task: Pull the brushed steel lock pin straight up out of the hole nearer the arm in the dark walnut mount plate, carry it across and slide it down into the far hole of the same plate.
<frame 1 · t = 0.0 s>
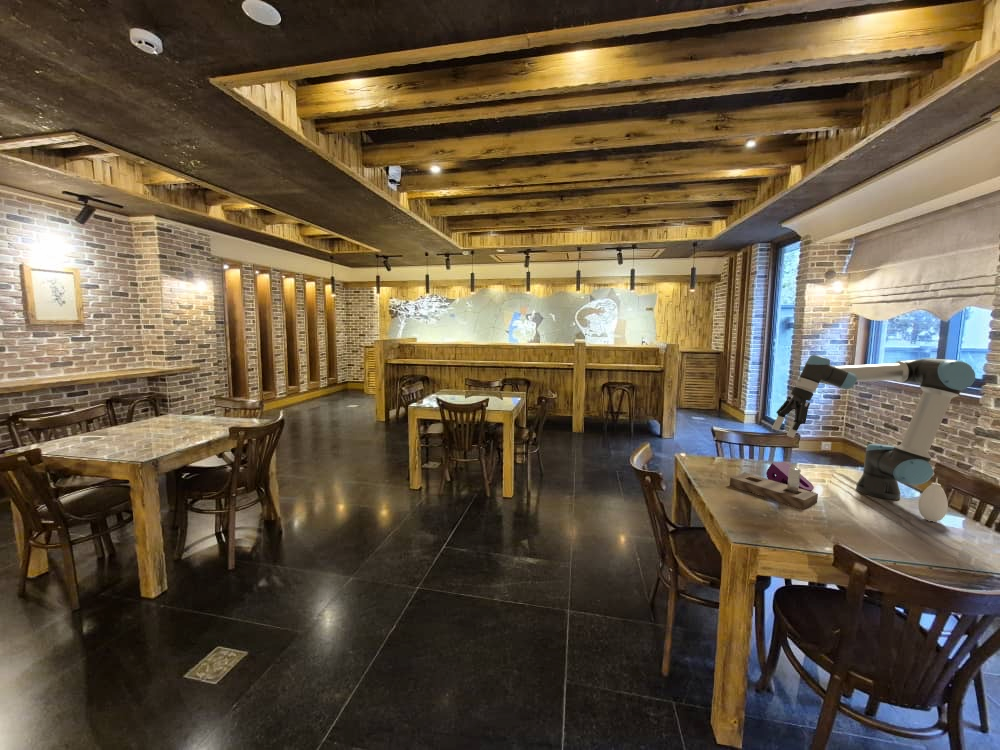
hand: (782, 433, 184), 28 cm above the table, tool tilted 20°, fingers open, 13 cm apart
mounting bracket: (790, 486, 197), on the table
mount plate: (771, 493, 186), on the table
white rounded egg-shaped figurine: (930, 521, 163), on the table
steel pin: (791, 500, 180), resting in mount plate
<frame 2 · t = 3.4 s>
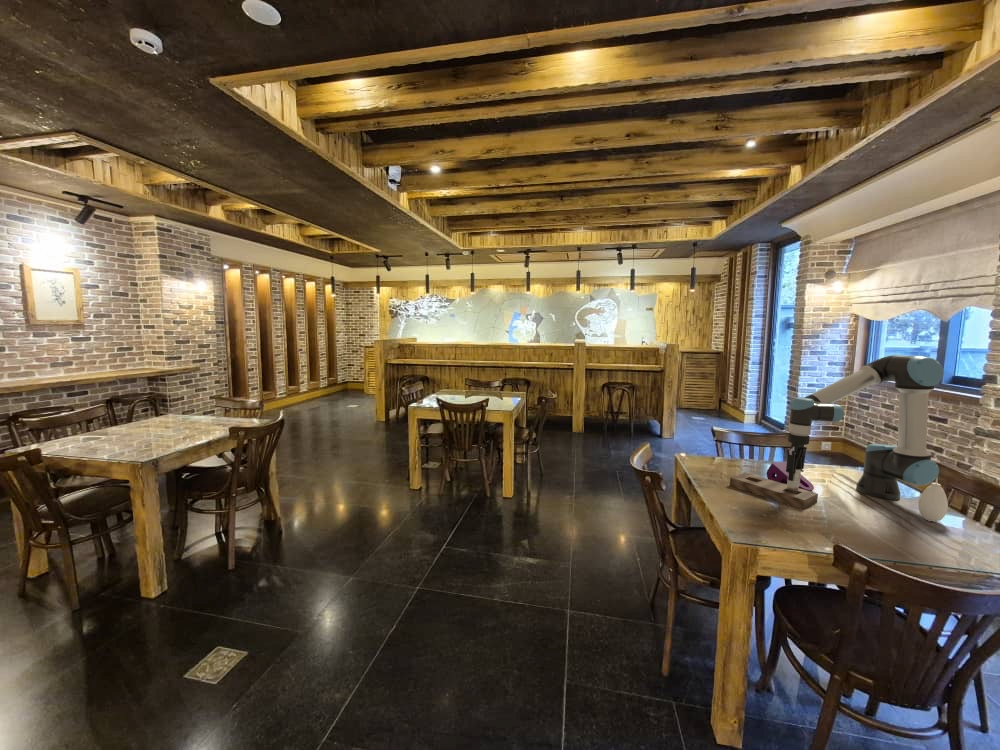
hand: (792, 486, 179), 6 cm above the table, tool pointing down, fingers closed on steel pin, 4 cm apart
steel pin: (791, 500, 180), resting in mount plate, touching gripper
everything else where it was.
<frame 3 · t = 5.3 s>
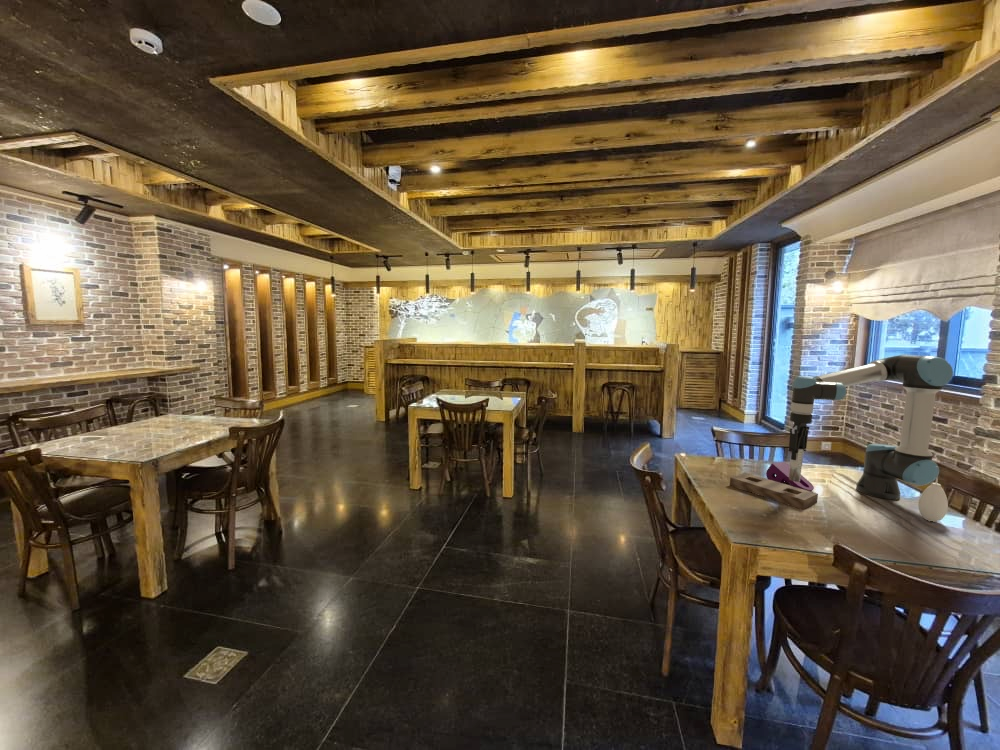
hand: (795, 466, 178), 15 cm above the table, tool pointing down, fingers closed on steel pin, 4 cm apart
steel pin: (794, 480, 179), point 9 cm above the table, touching gripper
everything else where it was.
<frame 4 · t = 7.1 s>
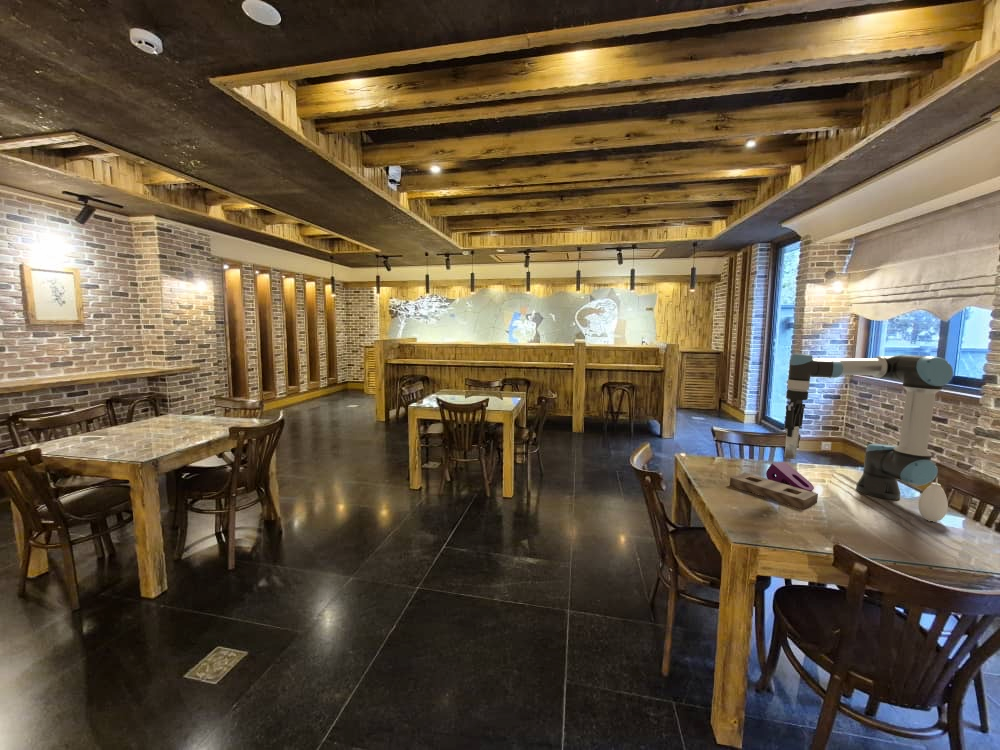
hand: (791, 443, 179), 25 cm above the table, tool pointing down, fingers closed on steel pin, 4 cm apart
steel pin: (789, 457, 179), point 18 cm above the table, touching gripper
everything else where it was.
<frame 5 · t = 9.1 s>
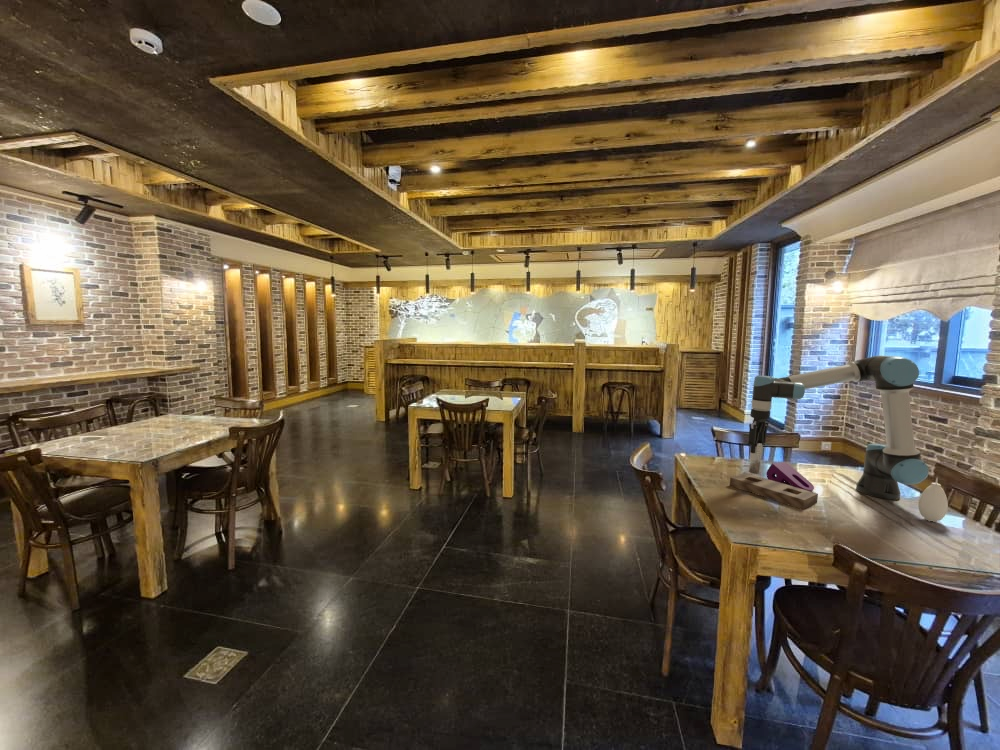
hand: (755, 458, 191), 14 cm above the table, tool pointing down, fingers closed on steel pin, 4 cm apart
steel pin: (753, 472, 192), point 7 cm above the table, touching gripper
everything else where it was.
when the fingers open (7 cm above the table, at t = 10.9 s): steel pin drops 1 cm, resting in mount plate.
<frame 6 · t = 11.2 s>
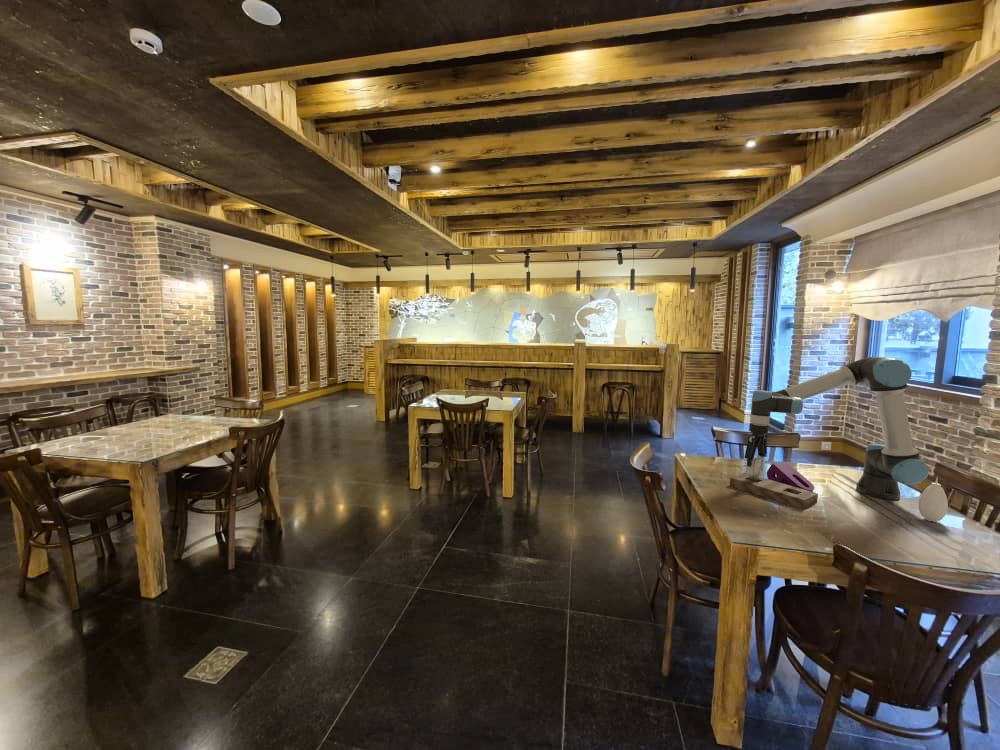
hand: (754, 471, 192), 8 cm above the table, tool pointing down, fingers open, 9 cm apart
steel pin: (752, 487, 193), resting in mount plate
everything else where it was.
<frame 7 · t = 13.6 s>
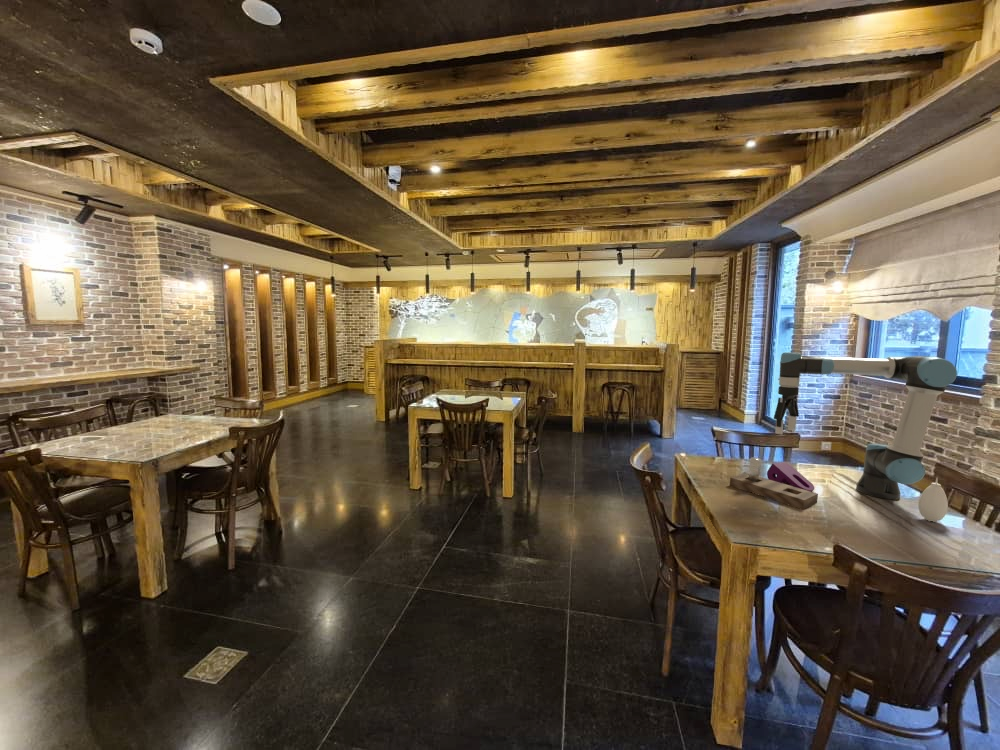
hand: (785, 432, 190), 27 cm above the table, tool pointing down, fingers open, 13 cm apart
nothing on the table moved.
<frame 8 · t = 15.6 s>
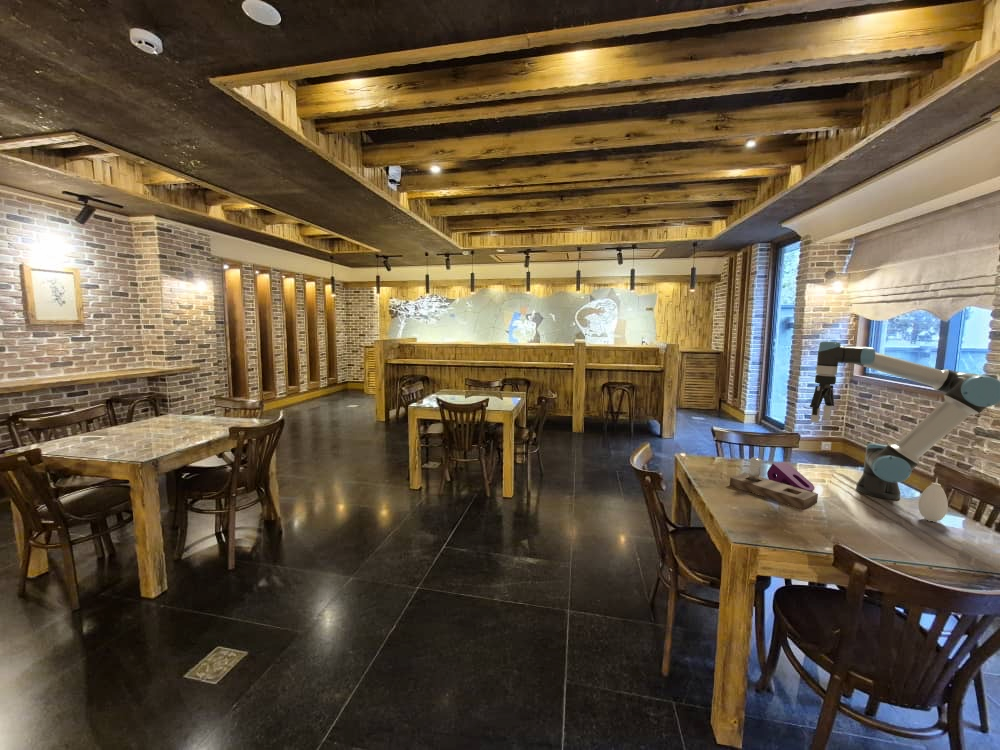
hand: (820, 420, 191), 33 cm above the table, tool pointing down, fingers open, 13 cm apart
nothing on the table moved.
at the end: steel pin 0.2 cm from the target spot on the mount plate, point 0.0 cm above the mount plate's base; steel pin tilted 0°; the gripper is holding nothing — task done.
